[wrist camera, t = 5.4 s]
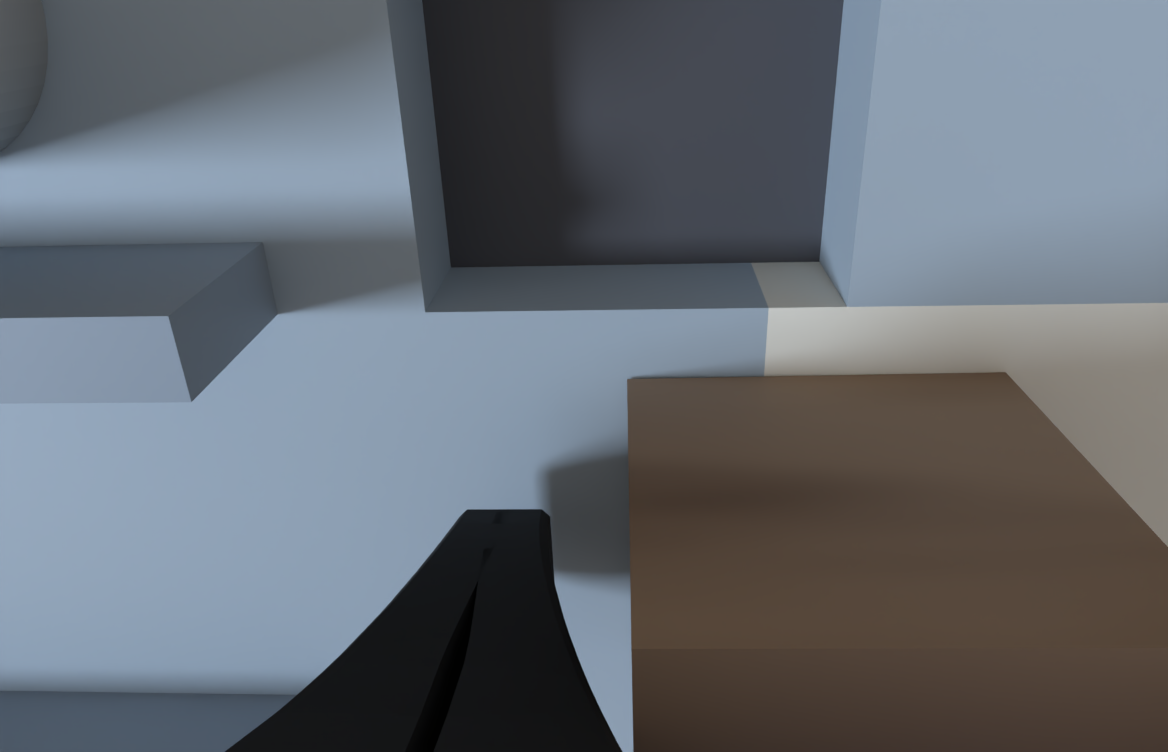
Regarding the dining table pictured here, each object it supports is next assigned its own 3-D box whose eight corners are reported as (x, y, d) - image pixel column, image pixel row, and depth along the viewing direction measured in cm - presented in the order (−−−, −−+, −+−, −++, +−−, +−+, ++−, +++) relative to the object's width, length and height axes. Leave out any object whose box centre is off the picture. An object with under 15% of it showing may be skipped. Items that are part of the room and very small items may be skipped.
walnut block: (948, 656, 13) (1113, 1006, 9) (631, 656, 14) (638, 997, 9) (1006, 372, 11) (1262, 646, 7) (626, 378, 11) (631, 648, 7)
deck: (1085, 718, 17) (1231, 963, 13) (-86, 701, 18) (-292, 917, 14) (1450, -427, 9) (2106, -731, 5) (-615, -303, 10) (-1392, -464, 6)
